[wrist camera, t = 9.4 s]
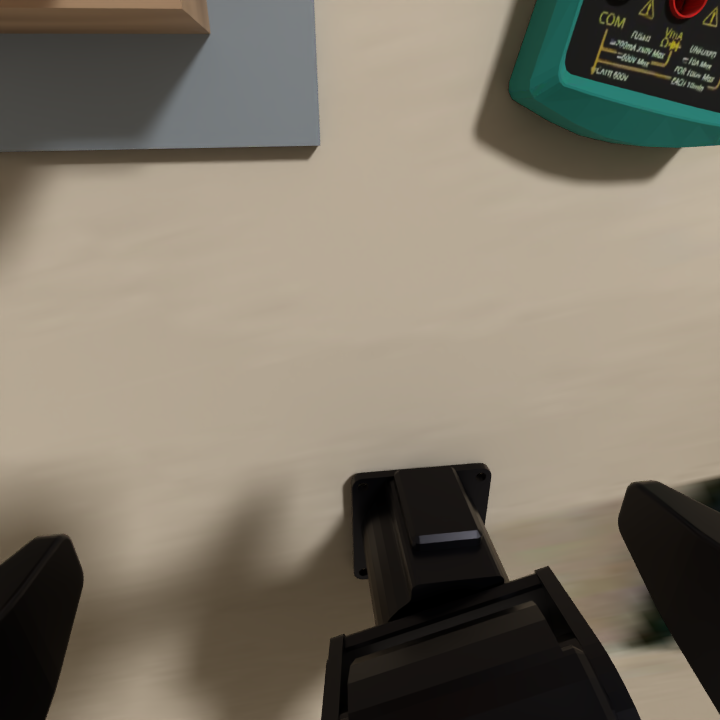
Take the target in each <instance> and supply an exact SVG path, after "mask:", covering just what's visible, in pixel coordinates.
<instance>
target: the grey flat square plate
mask: <svg viewBox="0 0 720 720" xmlns="http://www.w3.org/2000/svg"><path fill="white" fill-rule="evenodd" d="M207 8H208V16H209V24H210V32H211V34H0V152H19V151H69V150H119V149H169V148H219V147H269V146H319V145H320V127H319V104H318V82H317V59H316V36H315V13H314V0H207Z"/></svg>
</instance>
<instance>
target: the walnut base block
mask: <svg viewBox="0 0 720 720" xmlns="http://www.w3.org/2000/svg"><path fill="white" fill-rule="evenodd" d="M0 34H211V32H210V24H209V16H208V8H207V0H0Z"/></svg>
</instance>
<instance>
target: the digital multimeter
mask: <svg viewBox="0 0 720 720" xmlns="http://www.w3.org/2000/svg"><path fill="white" fill-rule="evenodd" d="M582 3H583V4H582ZM581 6H582V8H581ZM580 9H581V11H580ZM579 12H580V14H579ZM578 15H579V17H578ZM577 18H578V20H577ZM576 21H577V23H576ZM575 24H576V26H575ZM574 28H575V29H574ZM573 31H574V32H573ZM572 34H573V35H572ZM571 37H572V38H571ZM570 40H571V41H570ZM569 43H570V44H569ZM568 46H569V47H568ZM567 49H568V50H567ZM566 52H567V54H566ZM509 93H510V95H511V98H512V99H513V100H514V101H516V102H518V103H519V104H521V105H523V106H524V107H526V108H528V109H529V110H531V111H533V112H534V113H536V114H538V115H539V116H541V117H543V118H544V119H546V120H548V121H550V122H552V123H554V124H556V125H558V126H561V127H563V128H565V129H567V130H569V131H571V132H574V133H576V134H578V135H581V136H585V137H589V138H593V139H597V140H602V141H606V142H610V143H617V144H626V145H634V146H648V147H673V148H680V147H697V146H714V145H720V0H537V1H536V4H535V7H534V10H533V13H532V16H531V19H530V22H529V25H528V28H527V31H526V34H525V37H524V40H523V43H522V46H521V49H520V52H519V55H518V58H517V61H516V64H515V67H514V70H513V72H512V75H511V78H510V81H509Z"/></svg>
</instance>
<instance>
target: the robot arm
mask: <svg viewBox="0 0 720 720" xmlns="http://www.w3.org/2000/svg"><path fill="white" fill-rule="evenodd" d="M479 473H482V474H481V475H479V476H476V475H478V474H479ZM490 482H491V472H490V470H489V468H488V467H487V465H485V464H483V463H474V464H462V465H451V466H439V467H427V468H415V469H403V470H391V471H379V472H367V473H360V474H357V475H355V476H354V477H353V478H352V481H351V497H352V537H353V569H354V575H355V577H357V578H359V579H369V586H370V592H371V599H372V605H373V612H374V618H375V625H376V626H375V627H372V628H369V629H366V630H363V631H360V632H357V633H354V634H351V635H348V636H345V634H343V635H340V636H337V637H334V638H331V639H330V647H329V658H328V660H327V663H326V674H325V684H324V695H323V706H322V716H321V720H641V719H640V716H639V714H638V712H637V710H636V707H635V705H634V703H633V701H632V699H631V697H630V695H629V693H628V691H627V689H626V687H625V685H624V683H623V681H622V679H621V677H620V675H619V673H618V671H617V669H616V668H615V666H614V664H613V662H612V661H611V659H610V657H609V655H608V654H607V652H606V651H605V649H604V647H603V646H602V644H601V643H600V641H599V640H598V638H597V637H596V635H595V634H594V632H593V631H592V629H591V628H590V626H589V625H588V623H587V622H586V620H585V619H584V618H583V616H582V615H581V613H580V612H579V610H578V609H577V607H576V606H575V604H574V603H573V601H572V600H571V598H570V597H569V595H568V594H567V593H566V591H565V590H564V588H563V587H562V585H561V584H560V582H559V581H558V579H557V578H556V576H555V575H554V573H553V572H552V570H551V569H550V568H549V566H546V567H543V568H540V569H537V570H534V571H535V573H534V574H531V575H528V576H525V577H522V578H519V579H516V580H513V581H509V579H508V576H507V574H506V572H505V570H504V568H503V565H502V563H501V561H500V559H499V557H498V554H497V552H496V550H495V548H494V545H493V543H492V541H491V539H490V537H489V534H488V532H487V530H486V528H485V519H486V511H487V504H488V497H489V490H490ZM361 483H366V485H364V486H359V484H361ZM618 526H619V530H620V533H621V535H622V538H623V540H624V542H625V544H626V546H627V548H628V550H629V552H630V554H631V556H632V558H633V560H634V562H635V564H636V566H637V568H638V570H639V573H640V575H641V577H642V579H643V581H644V583H645V585H646V587H647V589H648V591H649V593H650V595H651V597H652V599H653V601H654V603H655V605H656V607H657V609H658V611H659V613H660V615H661V617H662V619H663V621H664V622H665V624H666V626H667V628H668V629H669V631H670V633H671V635H672V636H673V638H674V640H675V641H676V643H677V645H678V646H679V648H680V650H681V651H682V653H683V654H684V656H685V658H686V659H687V661H688V663H689V664H690V666H691V668H692V669H693V671H694V673H695V674H696V676H697V678H698V679H699V681H700V683H701V684H702V686H703V688H704V689H705V691H706V692H707V694H708V696H709V697H710V699H711V701H712V702H713V704H714V706H715V707H716V709H717V711H718V712H719V714H720V513H719V512H717V511H715V510H713V509H711V508H709V507H707V506H705V505H704V504H702V503H700V502H698V501H696V500H694V499H692V498H690V497H688V496H686V495H684V494H682V493H680V492H678V491H676V490H674V489H672V488H670V487H668V486H666V485H664V484H662V483H660V482H658V481H652V480H650V481H639V482H633V483H631V484H630V485H629V486H628V487H627V490H626V493H625V496H624V500H623V503H622V506H621V510H620V513H619V517H618ZM83 581H84V576H83V570H82V567H81V564H80V562H79V559H78V556H77V554H76V551H75V548H74V546H73V543H72V541H71V539H70V537H69V536H68V535H66V534H54V535H43V536H38V537H36V538H34V539H33V540H31V541H30V542H29V543H27V544H26V545H25V546H23V547H22V548H21V549H20V550H18V551H17V552H16V553H15V554H13V555H12V556H11V557H9V558H8V559H7V560H6V561H4V562H3V563H2V564H1V565H0V720H45V719H46V717H47V714H48V711H49V708H50V705H51V702H52V699H53V697H54V694H55V690H56V687H57V683H58V680H59V676H60V673H61V669H62V665H63V661H64V657H65V653H66V650H67V646H68V642H69V638H70V634H71V630H72V626H73V623H74V619H75V615H76V611H77V607H78V603H79V599H80V596H81V592H82V588H83Z"/></svg>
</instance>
